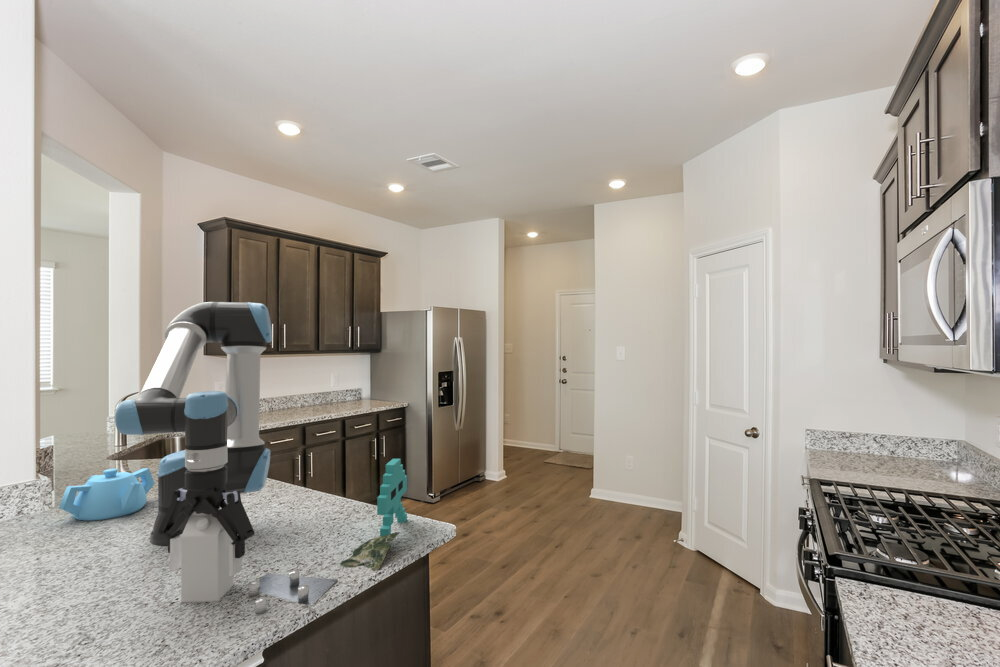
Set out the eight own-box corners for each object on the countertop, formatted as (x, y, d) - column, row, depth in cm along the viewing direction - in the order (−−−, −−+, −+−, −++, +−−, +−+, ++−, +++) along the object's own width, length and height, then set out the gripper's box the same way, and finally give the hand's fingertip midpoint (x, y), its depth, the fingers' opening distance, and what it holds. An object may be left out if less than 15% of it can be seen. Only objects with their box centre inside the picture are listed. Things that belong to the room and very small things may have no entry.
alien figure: (385, 549, 123) (385, 472, 123) (377, 549, 123) (377, 471, 123) (406, 519, 143) (407, 453, 143) (399, 519, 143) (399, 452, 143)
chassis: (210, 625, 91) (210, 604, 91) (267, 579, 108) (267, 562, 108) (292, 634, 88) (292, 612, 88) (337, 586, 105) (337, 568, 105)
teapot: (56, 529, 136) (57, 480, 136) (87, 507, 154) (88, 464, 154) (137, 520, 143) (138, 474, 143) (158, 500, 161) (158, 459, 161)
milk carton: (199, 592, 103) (200, 503, 103) (234, 590, 103) (234, 503, 103) (180, 611, 96) (180, 516, 96) (217, 609, 96) (218, 515, 96)
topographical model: (348, 545, 126) (346, 537, 126) (402, 538, 124) (399, 529, 123) (317, 584, 111) (314, 575, 110) (377, 576, 108) (374, 566, 108)
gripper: (137, 469, 97) (136, 574, 97) (248, 474, 93) (248, 584, 93) (168, 460, 104) (168, 558, 104) (272, 464, 100) (272, 566, 100)
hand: (205, 570), depth 98 cm, fingers open, 13 cm apart
